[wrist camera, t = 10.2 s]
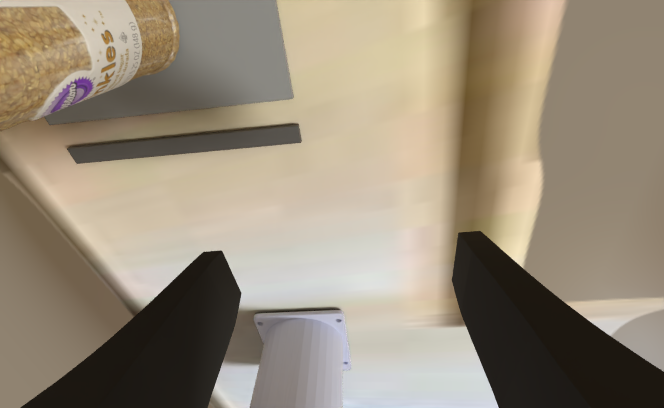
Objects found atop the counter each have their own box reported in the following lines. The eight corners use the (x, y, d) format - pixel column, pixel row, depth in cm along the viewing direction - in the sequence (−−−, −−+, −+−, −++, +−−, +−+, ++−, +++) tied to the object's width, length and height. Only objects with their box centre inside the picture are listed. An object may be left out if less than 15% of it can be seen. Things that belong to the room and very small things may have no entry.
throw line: (301, 140, 18) (300, 142, 17) (80, 161, 19) (76, 163, 19) (298, 123, 17) (297, 125, 17) (70, 146, 18) (67, 148, 18)
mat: (293, 96, 16) (292, 99, 16) (55, 122, 18) (49, 125, 17) (240, -195, 11) (237, -200, 10) (-104, -125, 12) (-117, -129, 12)
